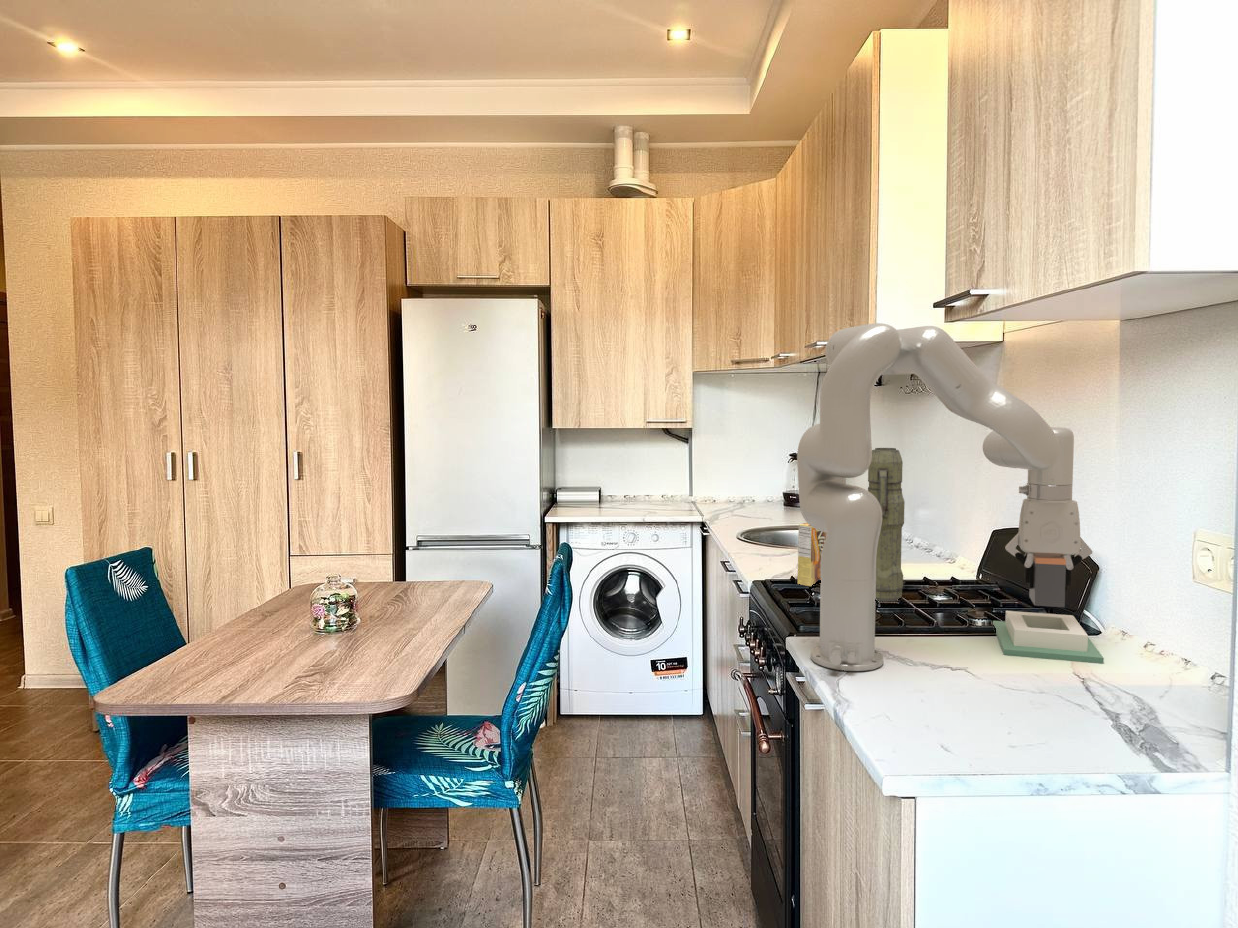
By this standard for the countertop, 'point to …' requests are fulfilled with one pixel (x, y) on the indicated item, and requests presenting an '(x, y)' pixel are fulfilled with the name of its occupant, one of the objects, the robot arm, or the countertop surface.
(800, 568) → the candy box
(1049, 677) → the countertop surface
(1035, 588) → the plug
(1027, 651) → the board
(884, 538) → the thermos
